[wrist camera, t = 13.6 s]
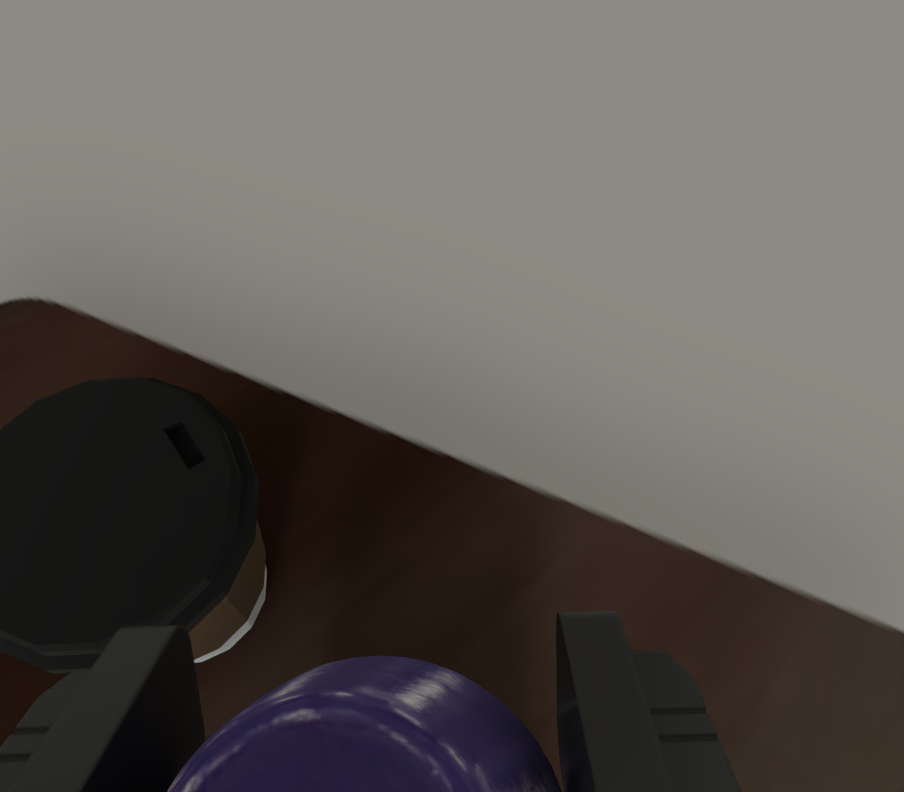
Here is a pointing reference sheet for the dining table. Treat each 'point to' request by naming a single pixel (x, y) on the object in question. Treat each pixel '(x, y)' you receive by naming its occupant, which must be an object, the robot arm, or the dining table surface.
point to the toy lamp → (372, 736)
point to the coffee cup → (125, 523)
